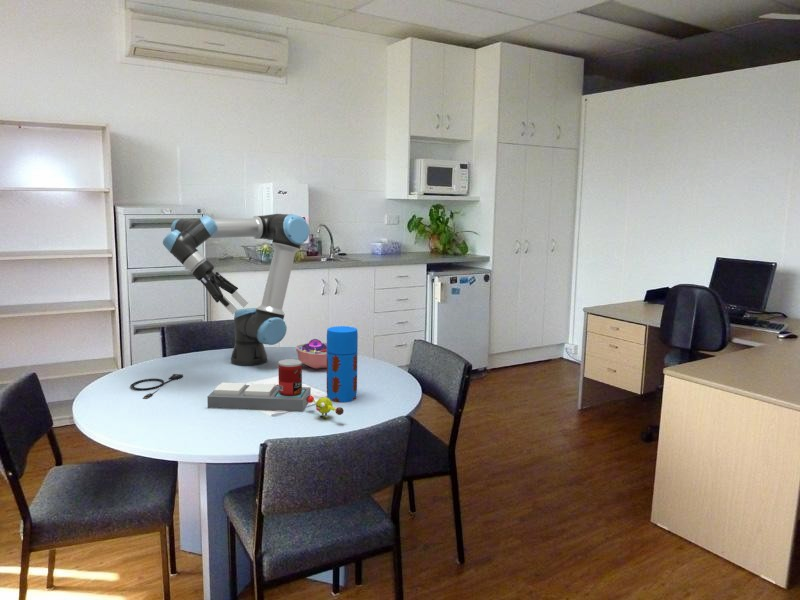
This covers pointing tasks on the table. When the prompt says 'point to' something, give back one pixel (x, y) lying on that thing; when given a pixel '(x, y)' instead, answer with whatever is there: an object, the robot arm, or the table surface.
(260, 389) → the key middle
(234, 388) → the key near
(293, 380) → the canned food
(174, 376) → the cable
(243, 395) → the keypad frame
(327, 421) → the table surface
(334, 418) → the table surface
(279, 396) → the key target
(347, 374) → the thermos
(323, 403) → the toy figure
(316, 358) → the cell model
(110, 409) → the table surface
